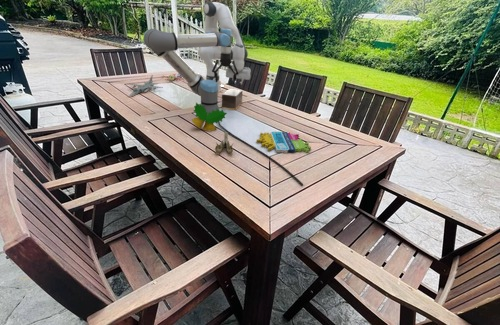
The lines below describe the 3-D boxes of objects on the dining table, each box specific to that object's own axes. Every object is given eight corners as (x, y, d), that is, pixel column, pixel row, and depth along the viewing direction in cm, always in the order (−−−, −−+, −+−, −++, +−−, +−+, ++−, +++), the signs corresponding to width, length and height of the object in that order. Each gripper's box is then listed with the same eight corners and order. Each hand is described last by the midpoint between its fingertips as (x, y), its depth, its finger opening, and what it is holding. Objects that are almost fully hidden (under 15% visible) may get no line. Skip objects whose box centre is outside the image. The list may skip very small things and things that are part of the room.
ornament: (218, 133, 171) (224, 110, 169) (221, 134, 163) (227, 111, 161) (186, 125, 162) (192, 101, 160) (189, 126, 155) (195, 101, 153)
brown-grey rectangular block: (229, 101, 219) (229, 88, 214) (241, 103, 217) (242, 90, 212) (221, 108, 202) (221, 94, 197) (235, 109, 200) (235, 96, 195)
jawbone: (234, 135, 144) (233, 125, 135) (233, 160, 138) (232, 151, 129) (217, 135, 144) (216, 125, 135) (216, 160, 138) (214, 150, 129)
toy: (194, 71, 288) (181, 75, 262) (194, 77, 291) (182, 82, 265) (171, 68, 293) (156, 72, 267) (171, 75, 296) (157, 79, 270)
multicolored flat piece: (313, 150, 142) (258, 149, 139) (312, 153, 143) (258, 152, 140) (301, 132, 164) (254, 130, 161) (301, 134, 165) (254, 133, 162)
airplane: (123, 86, 237) (121, 75, 232) (158, 84, 251) (157, 74, 246) (127, 99, 209) (125, 86, 204) (167, 96, 222) (166, 84, 217)
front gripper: (243, 53, 190) (242, 83, 200) (210, 50, 192) (210, 80, 203) (241, 55, 183) (240, 85, 194) (207, 51, 186) (207, 82, 196)
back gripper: (251, 67, 210) (250, 84, 217) (227, 64, 213) (227, 81, 220) (250, 68, 205) (249, 86, 211) (225, 65, 208) (224, 83, 215)
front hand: (225, 83), depth 198 cm, fingers open, 13 cm apart
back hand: (237, 84), depth 216 cm, fingers open, 4 cm apart
